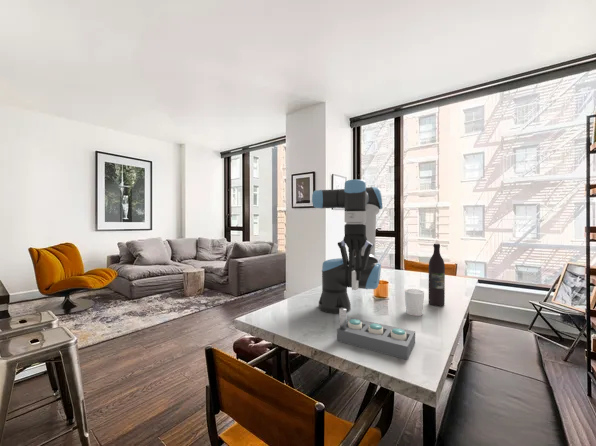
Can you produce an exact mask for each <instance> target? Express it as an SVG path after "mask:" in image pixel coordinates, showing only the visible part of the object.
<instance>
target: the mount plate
mask: <svg viewBox="0 0 596 446" xmlns="http://www.w3.org/2000/svg"><path fill="white" fill-rule="evenodd" d="M352 319H356V320H360V321H361V322H362V329H361V330H356V329H352V328H348V321H350V320H352ZM370 324H379V325H381V326H382V327H383V335H377V334H373V333H369V325H370ZM396 328H397V329H402V330H404V331H405V332H406V341H403V340H399V339H394V338H391V330H392V329H396ZM336 341H337V342H339V343H344V344H349V345H351V346H355V347H358V348H362V349H366V350H370V351H373V352H378V353H381V354H383V355H388V356H391V357H396V358H399V359H402V360H406V361H408V360H409V358H410V355H411V353H412V351H413V349H414V346H415V344H416V330H415V331H414V330H411V329H410V330H409V329H407V328H402V327H396V326H391V325H387V324H382V323H378V322H372V321H370V320H369V321H368V320H365V319H359V318H354V317H350V318H349V319H348V320H346V330H340V329H339V327H338V328H337V329H336Z"/></svg>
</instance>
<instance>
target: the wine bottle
mask: <svg viewBox="0 0 596 446" xmlns="http://www.w3.org/2000/svg"><path fill="white" fill-rule="evenodd" d="M440 248H441V245H440V243H433V253H432V255H431V256H430V259H429V261H428V304H429V305H431V306H433V307H438V308H439V307H444V306H445V298H446V297H445V295H446V292H445V291H446V287H445V286H446V285H445V284H446V283H445V282H446V280H445V279H446V277H445V276H446V271H445V270H446V265H445V261H444V258H443V257H442V255H441V253H440V251H441V249H440Z"/></svg>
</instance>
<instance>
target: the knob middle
mask: <svg viewBox="0 0 596 446" xmlns="http://www.w3.org/2000/svg"><path fill="white" fill-rule="evenodd" d="M379 324H380V323H379ZM379 324H370V325H369V333H373V334H377V335H383V327H382V326H381V325H379Z"/></svg>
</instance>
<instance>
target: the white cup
mask: <svg viewBox="0 0 596 446" xmlns="http://www.w3.org/2000/svg"><path fill="white" fill-rule="evenodd" d="M424 299H425V292H424V290H421V289H416V288H406V289H404V300H405V301H404V302H405V313H406V314H407V315H410V316H413V317H414V316H415V317H418V316H419V317H420V316H422V315H423V311H424Z"/></svg>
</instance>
